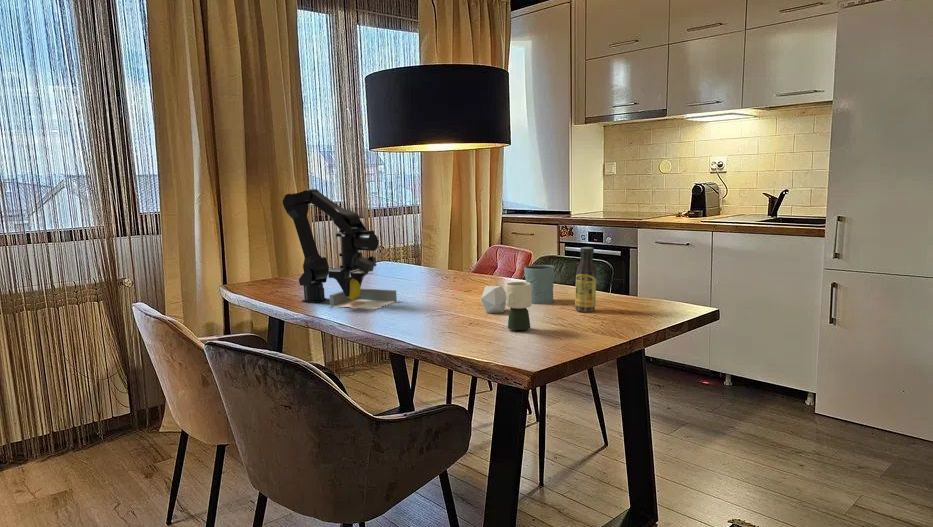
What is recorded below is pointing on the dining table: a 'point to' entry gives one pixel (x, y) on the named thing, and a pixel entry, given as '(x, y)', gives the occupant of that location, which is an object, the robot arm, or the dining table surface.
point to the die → (494, 299)
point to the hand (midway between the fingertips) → (352, 294)
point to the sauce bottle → (585, 282)
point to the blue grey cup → (540, 283)
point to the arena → (364, 299)
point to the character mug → (518, 304)
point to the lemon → (354, 289)
